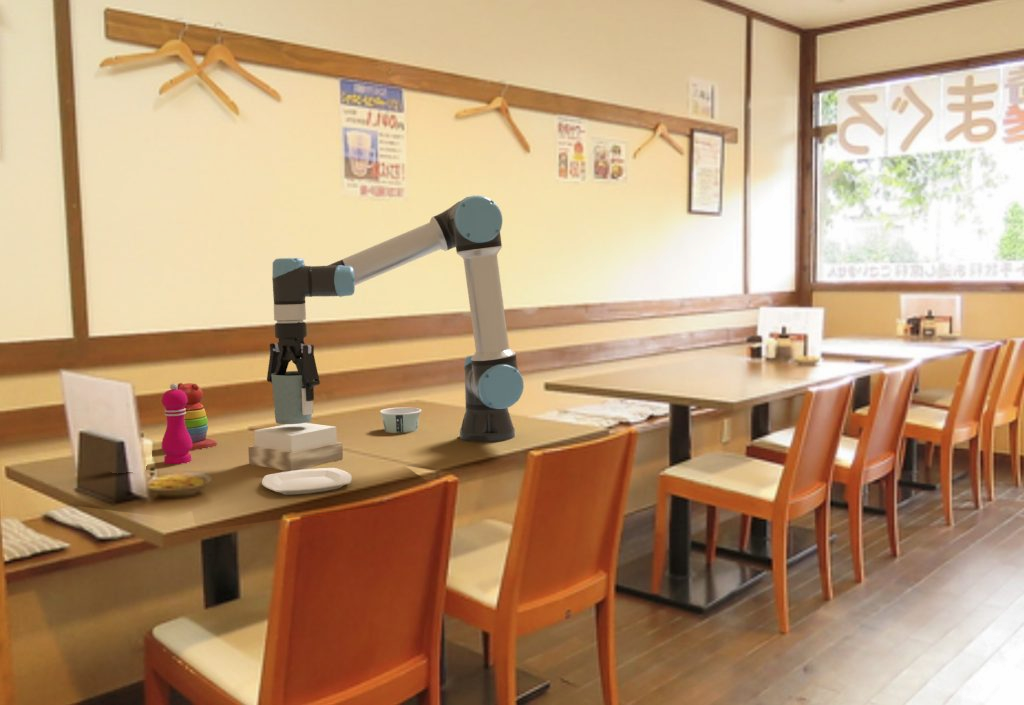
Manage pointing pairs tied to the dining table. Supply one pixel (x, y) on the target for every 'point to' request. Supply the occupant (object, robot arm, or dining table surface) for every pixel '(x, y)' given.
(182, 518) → the dining table surface
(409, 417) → the food container
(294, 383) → the blue-grey cup
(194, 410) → the stacking bear
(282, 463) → the tower base
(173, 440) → the pepper mill
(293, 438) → the tower top
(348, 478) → the plate
